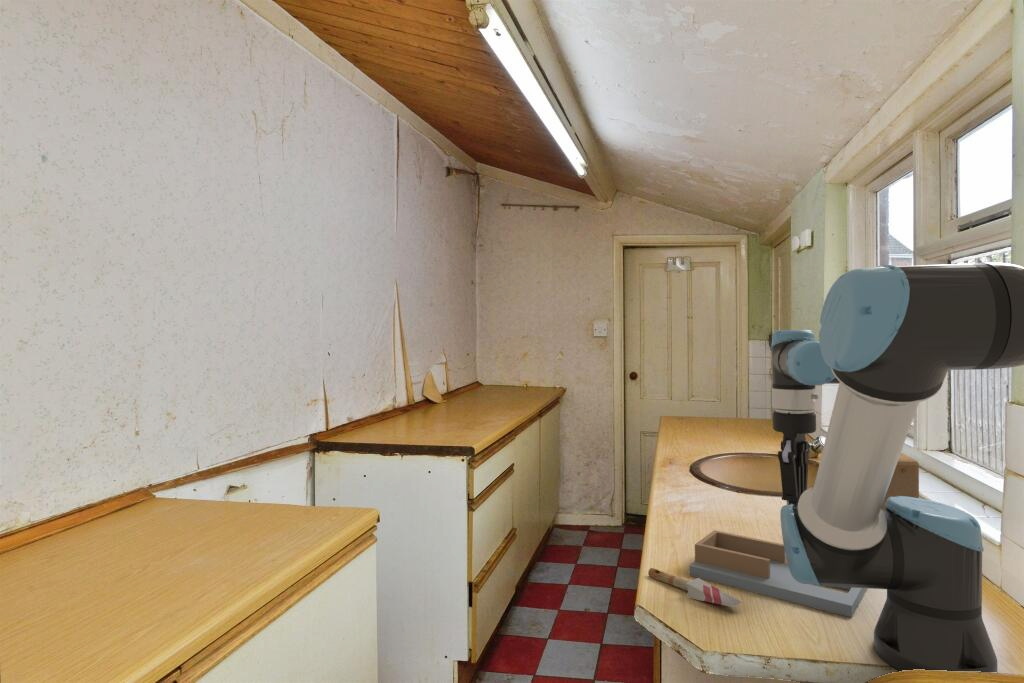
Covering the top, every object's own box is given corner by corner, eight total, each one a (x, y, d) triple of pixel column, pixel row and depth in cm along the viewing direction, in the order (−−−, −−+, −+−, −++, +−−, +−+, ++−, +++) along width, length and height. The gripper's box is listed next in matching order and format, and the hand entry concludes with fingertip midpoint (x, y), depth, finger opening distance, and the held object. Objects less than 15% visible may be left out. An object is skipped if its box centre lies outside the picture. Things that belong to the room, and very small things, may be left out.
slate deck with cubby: (851, 617, 104) (851, 585, 103) (689, 575, 122) (689, 548, 122) (873, 578, 119) (872, 550, 119) (726, 545, 138) (725, 521, 137)
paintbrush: (730, 599, 105) (644, 567, 121) (731, 615, 105) (645, 581, 121) (743, 593, 107) (657, 563, 124) (744, 608, 107) (658, 576, 124)
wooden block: (921, 552, 131) (920, 460, 131) (870, 549, 133) (870, 459, 133) (901, 536, 141) (901, 450, 141) (854, 534, 143) (853, 450, 143)
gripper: (806, 415, 108) (808, 547, 108) (823, 408, 118) (825, 529, 118) (762, 413, 113) (764, 539, 113) (783, 406, 123) (784, 522, 123)
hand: (795, 534), depth 116 cm, fingers closed
